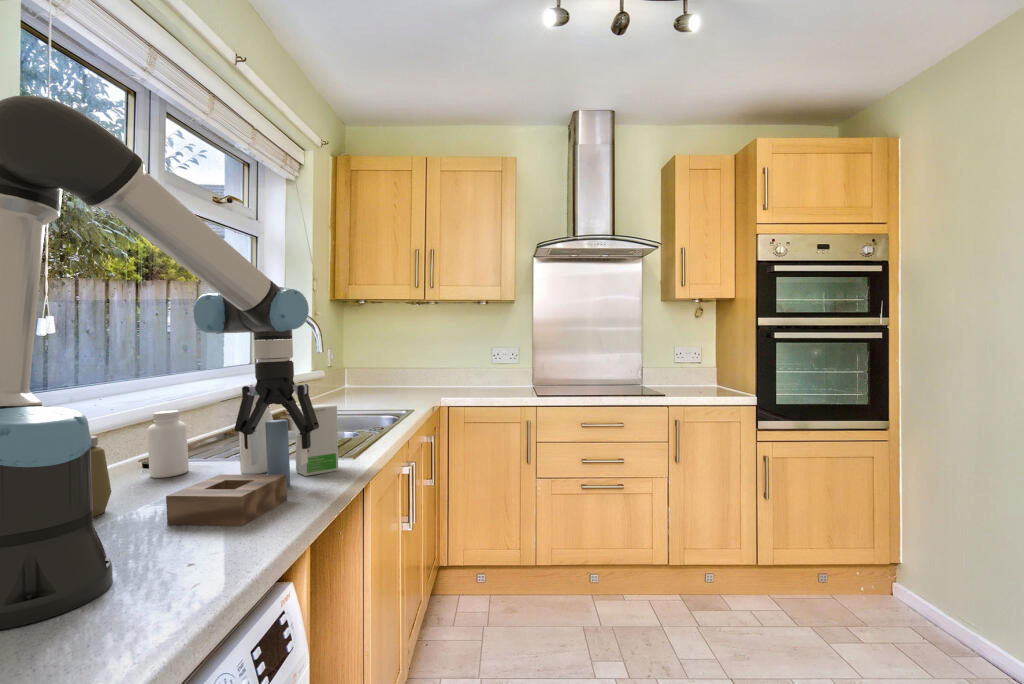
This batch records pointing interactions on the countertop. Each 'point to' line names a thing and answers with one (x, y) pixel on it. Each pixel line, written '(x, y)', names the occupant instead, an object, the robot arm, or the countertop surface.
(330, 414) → the skincare box
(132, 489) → the countertop surface
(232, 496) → the socket block
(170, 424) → the pill bottle
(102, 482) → the squeeze bottle
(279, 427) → the peg
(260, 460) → the milk bottle
